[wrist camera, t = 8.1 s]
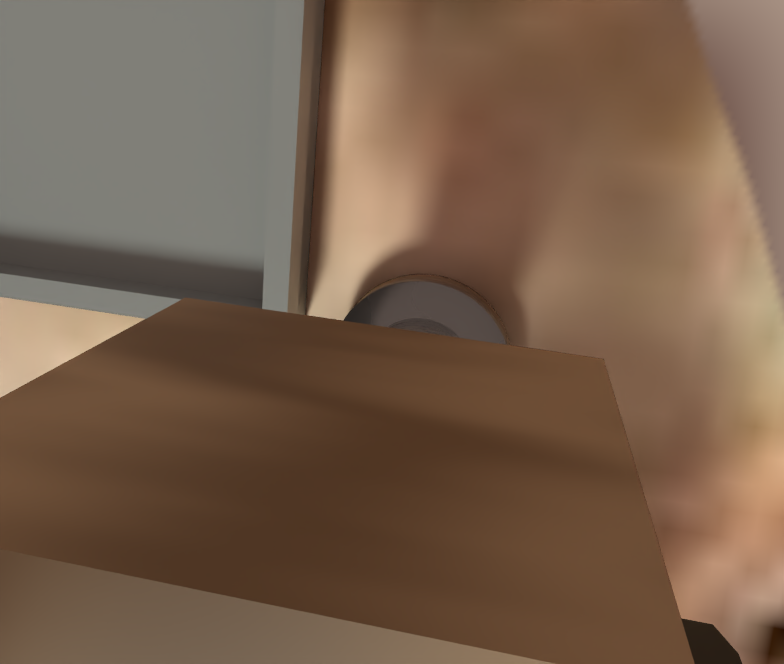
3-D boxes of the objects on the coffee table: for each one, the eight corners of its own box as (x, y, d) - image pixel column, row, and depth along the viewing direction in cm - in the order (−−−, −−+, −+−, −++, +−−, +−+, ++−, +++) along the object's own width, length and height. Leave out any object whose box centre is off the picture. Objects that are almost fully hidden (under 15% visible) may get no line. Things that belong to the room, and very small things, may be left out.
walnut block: (181, 633, 15) (-104, 1064, 8) (185, 297, 12) (-202, 507, 6) (534, 710, 14) (538, 1274, 7) (603, 358, 11) (702, 693, 5)
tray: (-45, 270, 23) (-91, 282, 21) (-82, -146, 19) (-140, -171, 18) (304, 321, 21) (285, 339, 20) (332, -121, 18) (312, -145, 16)
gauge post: (333, 423, 22) (224, 601, 14) (346, 263, 21) (232, 359, 13) (498, 450, 21) (481, 653, 13) (523, 287, 20) (522, 404, 12)
